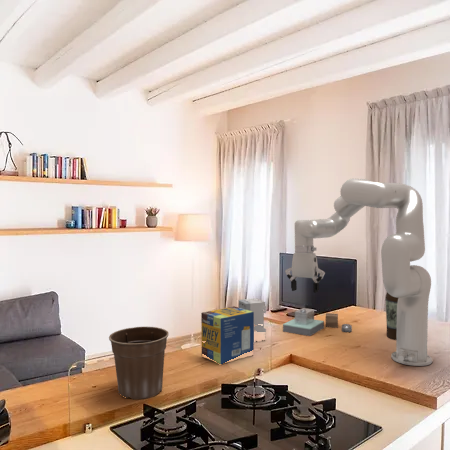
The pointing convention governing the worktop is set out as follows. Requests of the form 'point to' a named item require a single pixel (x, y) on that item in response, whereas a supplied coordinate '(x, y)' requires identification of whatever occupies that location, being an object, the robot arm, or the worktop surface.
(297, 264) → the robot arm
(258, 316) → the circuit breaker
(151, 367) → the plant pot
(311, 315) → the block
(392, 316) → the printed label canister
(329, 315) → the walnut block
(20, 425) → the worktop surface
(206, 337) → the protein box
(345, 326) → the steel spacer
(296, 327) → the stand
